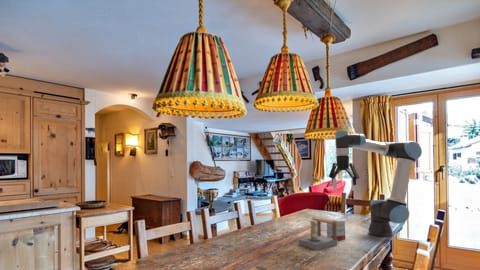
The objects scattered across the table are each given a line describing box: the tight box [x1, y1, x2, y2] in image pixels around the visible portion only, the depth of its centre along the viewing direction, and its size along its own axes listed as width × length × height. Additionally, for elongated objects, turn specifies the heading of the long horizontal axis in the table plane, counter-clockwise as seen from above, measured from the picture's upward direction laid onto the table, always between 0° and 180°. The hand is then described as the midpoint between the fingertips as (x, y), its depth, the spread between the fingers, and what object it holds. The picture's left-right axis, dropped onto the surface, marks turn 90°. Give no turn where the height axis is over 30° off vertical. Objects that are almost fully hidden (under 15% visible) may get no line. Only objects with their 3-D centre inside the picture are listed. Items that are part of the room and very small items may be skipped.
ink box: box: [326, 218, 346, 241], centre depth 198 cm, size 9×9×12 cm
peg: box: [309, 220, 318, 242], centre depth 182 cm, size 4×4×14 cm
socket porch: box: [298, 216, 338, 251], centre depth 183 cm, size 18×14×14 cm
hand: (343, 189), depth 188 cm, fingers open, 13 cm apart
